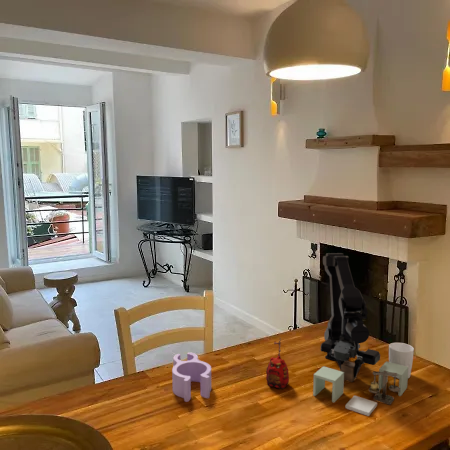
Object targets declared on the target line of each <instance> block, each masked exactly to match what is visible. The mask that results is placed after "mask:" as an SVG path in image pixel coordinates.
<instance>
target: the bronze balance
mask: <svg viewBox="0 0 450 450" xmlns="http://www.w3.org/2000/svg"><path fill="white" fill-rule="evenodd" d="M372 375H373V381H372V382H370V387H368V392H369V393H371V394H373V395H374V396H373V401H375V402H378V403H379V402H380V403H382V404H386V405H389V406H391V404H393V401H394V400H395V397H394V396H392V395H389V394H387V383H388V381H387V376H388V377H393V376H394V377H393V378H394V379H393V385H392V384H391V385H389V386H388V390H389V392H394V393H399V391H400V388H399V385H396V381H397V378H396V376H397V373H390V372H386V371H383V372H379V371H372ZM379 375H383V381H382V389H381V390H379V389H378V385H379V382H377V381H376V376H379Z"/></svg>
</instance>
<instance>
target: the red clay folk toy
mask: <svg viewBox="0 0 450 450" xmlns="http://www.w3.org/2000/svg"><path fill="white" fill-rule="evenodd" d="M281 341H282V338H281V337H279V340H278V342H277V341H276V340H275V341H274V342H273V344H274V345H278V353H277V357H273V356H272V357H270V359H269V363H268V365H267V366H266V371H265V373H266V375H265V376H266V377H265V379H266V383H267V385H268V386H269V387H272V388H276V389H279V390H280V389H281V390H283V389H286V387H287V386H288V384H289V383H290V378H289V377H290V376H289V375H290V374H289V373H290V372H289V368H288V366H287V363H286V362H285V360H284V359H282V357H281V352H282V350H281V343H282V342H281Z"/></svg>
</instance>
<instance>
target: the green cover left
mask: <svg viewBox="0 0 450 450" xmlns="http://www.w3.org/2000/svg"><path fill="white" fill-rule="evenodd" d="M312 380H313V385H312V386H313V387H312V388H313V389H312V396H313V397H316V396H317V395H318V394H319V393H320V392H321V391H322V390H324V389H325V387H326V382H329V383H331V384H332V388H331V389H332V391H331V393H332V394H331V402H332V403H335V402H336V401H337V400H339V398H341V396H343V394H344V387H345V386H344V385H345V383H344V382H345V380H344V372H341V371H340V370H338V369H335V368H330V367H327V366H321V368H319V369H318V370H317V371H316V372H314V373H313V379H312Z"/></svg>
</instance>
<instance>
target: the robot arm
mask: <svg viewBox="0 0 450 450" xmlns="http://www.w3.org/2000/svg"><path fill="white" fill-rule="evenodd" d="M322 264H323V266H324V271H325V272H326V274H327V276H329V290H330V307H331V308H330V309H331V310H330V311H331V316H330V318H329V319H328V322H327V327H326V329H325V331H324V341H323V342H322V343H321V344H320V352H323V353H326V354H325V357H324V358H325V359H329V360H332V361H334V362H335V361H336V363H337V364H338V367H339V371H341V365H342V364H343V363H344V362H345V361H349V360H350V359H355V358H356V359H355V360H354V361H353V363H355V368H354V378H355V377H356V376H357V375H358V373H359V372H360V370H361V367H362V365H364V364H367V365H370V366H374V365H377V363H378V362H379V361H380V360H381V353H380V352H379V351H378V350H374V349H372V348H371V349H370V348H368V349H366V350H365V351H364V350H360V348H361V344H362V343H365V342H366V341H368V339H369V337H370V332H369V329H368V328H367V326H366V325H365V324H364V321H363V319H364V320H365V319H368V313H369V312H368V308H367V304H366V300H365V298H364V297H363V296H362V293H361V290H360V289H359V288H357V287H355V282H354V280H353V276H352V272H351V268H350V265H349V264H350V260H349V256H348V255H344V253H342V252H337V253H335V252H331V253H330V252H328V253H326V254H325V255H323V256H322ZM357 377H358V376H357Z"/></svg>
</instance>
